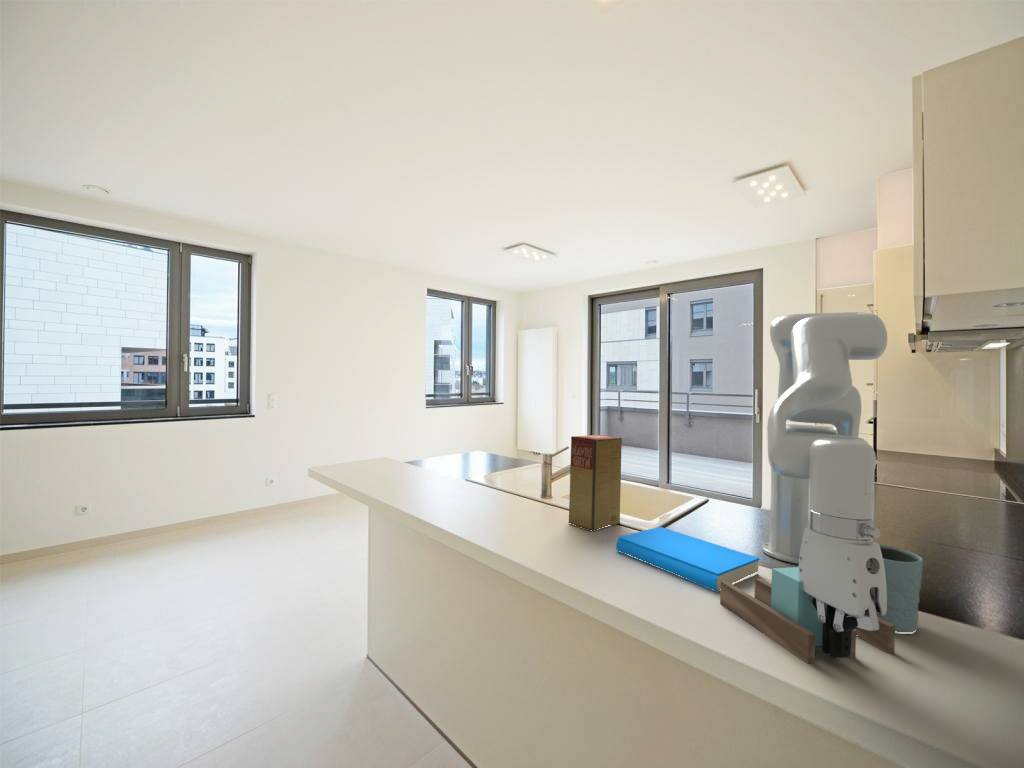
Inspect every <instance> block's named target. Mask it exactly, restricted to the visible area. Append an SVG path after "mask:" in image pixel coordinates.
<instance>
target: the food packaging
mask: <svg viewBox="0 0 1024 768" xmlns="http://www.w3.org/2000/svg"><path fill="white" fill-rule="evenodd" d="M570 439H571V440H570V443H571V444H570V446H571V447H570V471H569V473H570V474H569V506H568V507H569V508H568V523H571V524H574V525H576V526H579V527H582V528H581V529H583V528H585V529H584V530H586V529H588V530H587V531H589V530H592V531H591V532H595V531H594V530H596V531H598V530H597V529H599V528H602V527H605V526H608V525H612V526H611V527H614V526H616V525H619V524H621V521H620V520H621V489H622V488H621V486H622V484H621V483H622V480H621V479H622V440H623V439H622V437H620V436H612V435H604V434H594V435H592V434H591V435H578V436H576V435H574V436H573V435H572V436H570ZM576 526H575V527H576ZM579 527H578V528H579Z"/></svg>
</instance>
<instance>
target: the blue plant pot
mask: <svg viewBox="0 0 1024 768" xmlns="http://www.w3.org/2000/svg"><path fill="white" fill-rule="evenodd" d="M878 544H879V546H880V549H881V553H882V557H883V562H884V569H885V577H886V590H887V611H886V615H884V616H877V617H878V618H880V619H882V620H885V621H887V622H889V623H891V624H893V625H895V631H897V632H913V631H915V630H916V629H917V630H918V626H919V625H918V624H919V612H918V611H919V603H920V600H921V599H920V590H921V585H922V576H923V567H924V566H923V564H924V559H923V558H922V556H920V555H918V554H916V553H914V552H912V551H910V550H906V549H903V548H900V547H895V546H892V545H891V546H890V545H884V544H880V543H878Z"/></svg>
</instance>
